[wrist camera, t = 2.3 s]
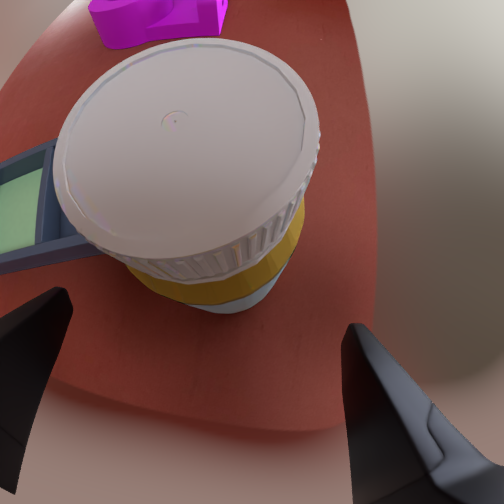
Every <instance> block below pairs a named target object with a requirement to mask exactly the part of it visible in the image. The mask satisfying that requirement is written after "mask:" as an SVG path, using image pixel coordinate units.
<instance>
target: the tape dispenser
mask: <svg viewBox="0 0 504 504" xmlns="http://www.w3.org/2000/svg"><path fill="white" fill-rule="evenodd" d="M227 6H228V0H92V1H91V2H90V4H89V6H88V9H89V12H90V14H91V16H92V19H93V21H94V23H95V26H96V28H97V30H98V33H99V35H100V37H101V39H102V42H103V44H104V45H105V46H106V47H107V48H110V49H124V48H130V47H134V46H137V45H140V44H143V43H146V42H148V41H155V40H163V39H172V38H182V37H196V36H220V32H221V28H222V24H223V21H224V17H225V13H226V10H227Z"/></svg>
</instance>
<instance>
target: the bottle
mask: <svg viewBox="0 0 504 504" xmlns="http://www.w3.org/2000/svg"><path fill="white" fill-rule="evenodd" d="M319 138H320V131H319V120H318V113H317V109H316V106H315V103H314V100H313V98H312V95H311V93H310V91H309V90H308V88H307V86H306V85H305V83H304V82H303V80H302V79H301V78H300V77H299V76H298V74H297V73H296V72H295V71H294V70H293V69H292V68H291V67H289V66H288V65H287V64H286V63H285V62H283V61H282V60H280V59H279V58H277V57H276V56H274V55H272V54H271V53H269V52H267V51H265V50H263V49H260V48H258V47H255V46H252V45H249V44H246V43H242V42H238V41H233V40H227V39H218V38H194V39H185V40H179V41H173V42H169V43H165V44H161V45H158V46H155V47H152V48H149V49H147V50H144V51H142V52H140V53H137V54H135V55H133V56H131V57H129V58H127V59H126V60H124V61H122V62H121V63H119V64H117V65H116V66H114V67H113V68H111V69H110V70H109V71H107V72H106V73H105V74H104V75H102V76H101V77H100V78H99V79H98V80H96V81H95V82H94V83H93V84H92V85H91V86H90V87H89V88H88V89H87V90H86V92H85V93H84V94H83V95H82V96H81V97H80V99H79V100H78V101H77V103H76V104H75V105H74V107H73V108H72V110H71V112H70V113H69V115H68V117H67V119H66V120H65V122H64V125H63V127H62V129H61V131H60V134H59V137H58V140H57V144H56V148H55V152H54V159H53V180H54V187H55V191H56V195H57V198H58V201H59V203H60V206H61V208H62V210H63V211H64V213H65V215H66V216H67V218H68V219H69V222H70V223H71V224H72V225H73V226H74V227H75V228H76V231H77V232H78V233H79V234H80V235H82V236H84V237H85V239H86V241H87V242H89V243H90V244H92V245H94V246H96V247H97V249H99V250H101V251H103V252H104V253H106V254H108V255H110V256H112V257H114V258H116V259H117V260H119V261H121V262H123V263H125V264H126V266H127V268H128V269H129V270H130V271H131V273H132V274H133V275H134V276H136V277H137V278H138V279H139V280H140V281H141V282H142V283H143V284H144V285H146V286H147V287H148V288H149V289H151V290H152V291H154V292H156V293H158V294H160V295H162V296H164V297H167V298H169V299H172V300H175V301H177V302H180V303H183V304H186V305H189V306H192V307H196V308H199V309H203V310H206V311H209V312H213V313H227V314H230V313H236V312H240V311H243V310H246V309H249V308H251V307H252V306H254V305H255V304H257V303H258V302H259V301H261V300H262V299H263V298H264V297H265V296H266V295H267V294H268V292H269V291H270V290H271V288H272V287H273V285H274V284H275V282H276V281H277V279H278V277H279V276H280V274H281V272H282V271H283V269H284V267H285V266H286V264H287V263H288V261H289V259H290V258H291V256H292V254H293V252H294V250H295V248H296V245H297V242H298V239H299V235H300V232H301V229H302V225H303V222H304V193H305V191H306V188H307V186H308V183H309V181H310V178H311V176H312V173H313V170H314V167H315V165H316V162H317V154H318V151H319V147H320V145H319V143H318V141H319Z"/></svg>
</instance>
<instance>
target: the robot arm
mask: <svg viewBox="0 0 504 504" xmlns="http://www.w3.org/2000/svg"><path fill="white" fill-rule="evenodd" d="M72 314H73V306H72V303H71V300H70V298H69V295H68V292H67V290H66V289H65V288H61V287H54V288H52V289H50V290H48V291H46V292H45V293H43V294H41V295H39V296H37V297H36V298H34V299H32V300H30V301H29V302H27V303H25V304H23V305H22V306H20V307H18V308H16V309H15V310H13V311H11V312H10V313H8V314H6V315H5V316H3V317H1V318H0V487H1V488H3V489H4V490H6V491H8V492H10V493H12V494H14V495H15V493H16V489H17V484H18V479H19V474H20V470H21V465H22V461H23V457H24V453H25V449H26V445H27V442H28V438H29V435H30V431H31V428H32V424H33V422H34V418H35V415H36V412H37V409H38V406H39V404H40V401H41V398H42V395H43V392H44V390H45V387H46V384H47V381H48V379H49V376H50V374H51V371H52V369H53V366H54V364H55V361H56V359H57V357H58V354H59V352H60V349H61V346H62V343H63V340H64V337H65V334H66V331H67V328H68V325H69V322H70V320H71V317H72ZM341 366H342V395H343V404H344V412H345V420H346V428H347V437H348V446H349V457H350V468H351V481H352V495H353V504H504V466H500V465H497V464H495V463H493V462H491V461H490V460H488V459H487V458H486V457H485V456H483V455H482V454H481V453H480V452H479V451H478V450H477V449H476V448H475V447H474V446H473V445H472V444H471V443H470V442H469V441H468V440H467V439H466V438H465V437H464V436H463V435H462V434H461V433H460V432H459V431H458V430H457V429H456V428H455V427H454V426H453V425H452V424H451V423H450V422H449V421H448V419H447V418H446V417H445V416H444V415H443V414H442V413H441V411H440V410H439V409H438V408H437V407H436V406H435V404H434V403H432V401H431V400H430V399H429V398H428V396H427V395H426V394H425V393H424V392H423V391H422V389H421V388H420V387H419V386H418V385H417V384H416V382H415V381H414V380H413V379H412V378H411V377H410V376H409V374H408V373H407V372H406V371H405V370H404V369H403V368H402V366H401V365H400V364H399V363H398V362H397V361H396V360H395V358H394V357H393V356H392V355H391V354H390V353H389V352H388V351H387V350H386V348H385V347H384V346H383V345H382V344H381V343H380V342H379V341H378V339H377V338H376V337H375V336H374V335H373V334H372V333H371V332H370V331H369V330H368V328H367V327H366V326H365V325H364V324H361V323H351V324H349V326H348V328H347V330H346V333H345V335H344V338H343V340H342V343H341Z"/></svg>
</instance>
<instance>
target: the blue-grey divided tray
mask: <svg viewBox="0 0 504 504" xmlns="http://www.w3.org/2000/svg"><path fill="white" fill-rule="evenodd" d="M57 140H58V138H55V139H53V140H50V141H48V142H45V143H43V144H41V145H38V146H36V147H34V148H31V149H29V150H27V151H25V152H23V153H20V154H18V155H16V156H14V157H12V158H10V159H8V160H6V161H4V162H2V163H0V275H2V274H6V273H11V272H16V271H20V270H25V269H30V268H35V267H40V266H45V265H50V264H54V263H59V262H65V261H70V260H75V259H80V258H85V257H90V256H95V255H101V254H106V253H104V252H103V251H101V250H99V249H97V247H96V246H94V245H92V244H90V243H89V242H87V241H86V239H85V237H84V236H82V235H80V234H79V233H78V232H77V231H76V228H75V227H74V226H73V225H72V224H71V223H70V222H69V219H68V218H67V216H66V215H65V213H64V211H63V210H62V208H61V206H60V203H59V201H58V198H57V195H56V191H55V187H54V180H53V159H54V152H55V148H56V144H57Z"/></svg>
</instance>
